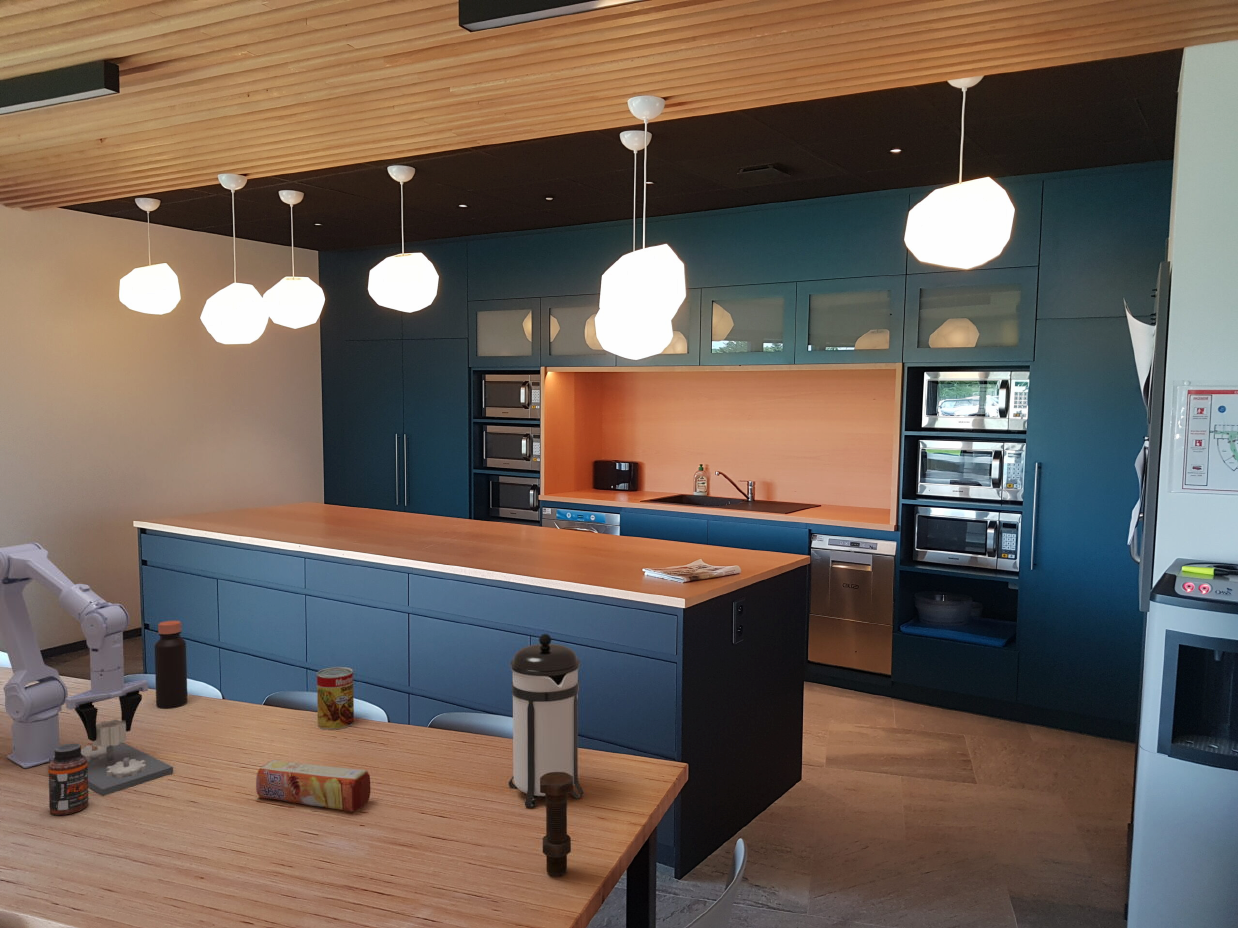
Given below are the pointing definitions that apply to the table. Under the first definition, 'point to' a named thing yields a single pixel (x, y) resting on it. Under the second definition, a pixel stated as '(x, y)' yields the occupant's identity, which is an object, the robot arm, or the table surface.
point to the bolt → (556, 821)
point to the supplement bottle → (68, 780)
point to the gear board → (120, 767)
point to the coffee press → (544, 716)
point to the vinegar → (170, 666)
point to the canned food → (335, 698)
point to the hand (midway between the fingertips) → (109, 734)
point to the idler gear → (110, 733)
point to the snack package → (314, 785)
